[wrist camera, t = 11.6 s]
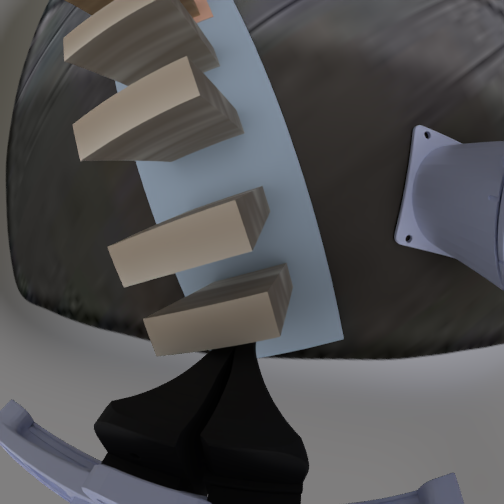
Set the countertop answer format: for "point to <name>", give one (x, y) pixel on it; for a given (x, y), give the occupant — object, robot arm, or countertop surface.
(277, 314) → the domino
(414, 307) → the countertop surface
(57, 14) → the countertop surface
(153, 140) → the domino
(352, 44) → the countertop surface
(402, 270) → the countertop surface
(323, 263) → the mat
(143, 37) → the domino
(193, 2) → the domino
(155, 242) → the domino
